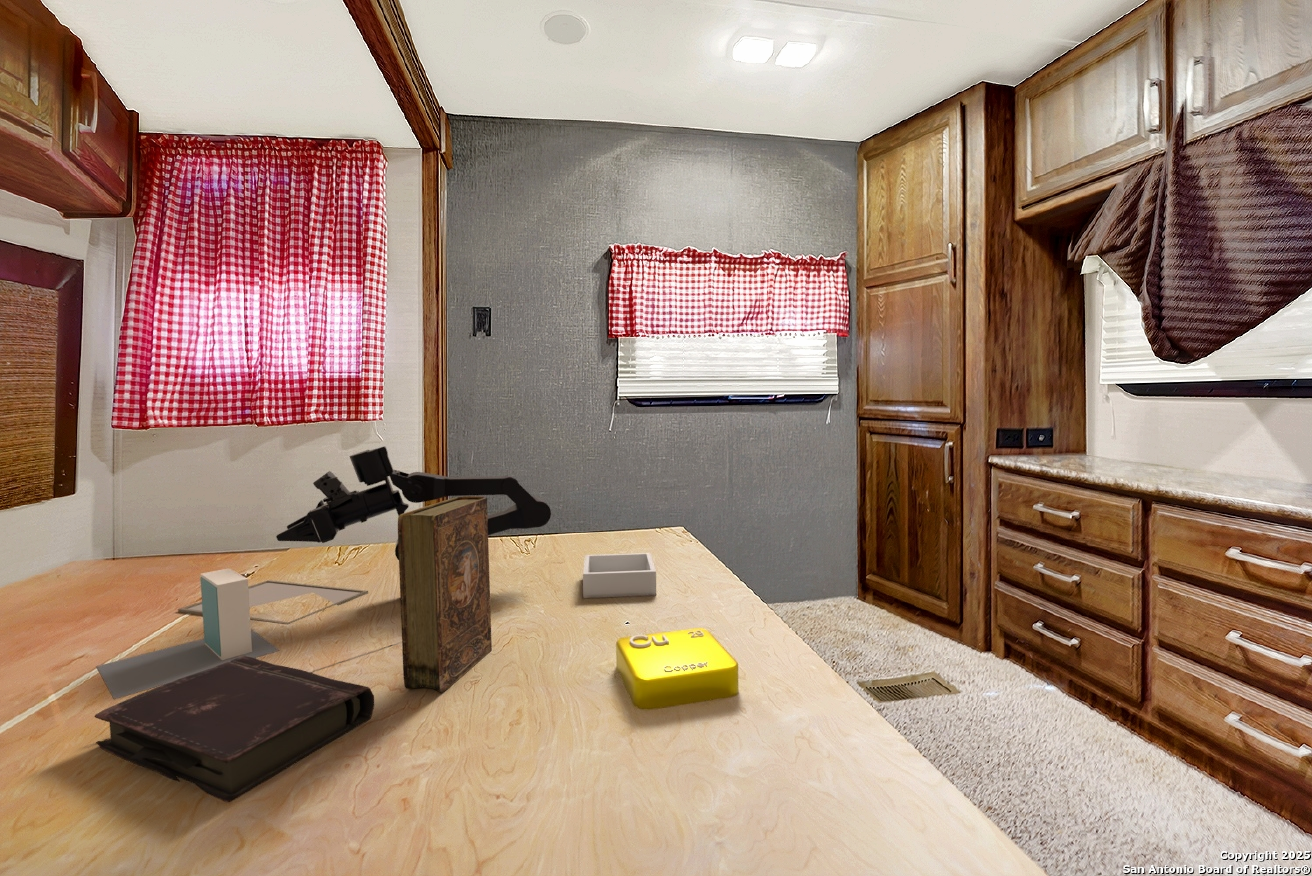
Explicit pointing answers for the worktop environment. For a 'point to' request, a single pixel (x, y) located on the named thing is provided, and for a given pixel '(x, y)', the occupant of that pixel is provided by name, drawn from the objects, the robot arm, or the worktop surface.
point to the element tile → (675, 668)
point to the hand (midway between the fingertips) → (282, 533)
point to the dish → (619, 575)
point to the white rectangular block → (226, 613)
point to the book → (444, 591)
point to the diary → (234, 723)
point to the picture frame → (287, 596)
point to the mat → (169, 665)
